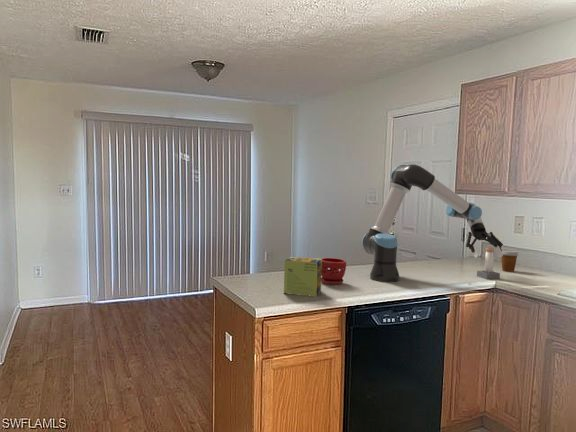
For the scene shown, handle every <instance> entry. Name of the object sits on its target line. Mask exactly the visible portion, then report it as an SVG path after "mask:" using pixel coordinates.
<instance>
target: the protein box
mask: <svg viewBox="0 0 576 432" xmlns="http://www.w3.org/2000/svg"><path fill="white" fill-rule="evenodd" d="M283 270H284V274H283V275H284V276H283V277H284V278H283V280H284V281H283V294H284V293H290V294H289V295H292V294H300V295H299V296H302V295H310V296H309V297H313V296H318V295H320V293H321V292H322V282H321V278H322V276H321V270H322V258H313V257H301V256H300V257H299V256H297V257H296V256H290V257H289V258H287V259H284V269H283Z"/></svg>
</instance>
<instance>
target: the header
mask: <svg viewBox="0 0 576 432" xmlns="http://www.w3.org/2000/svg"><path fill="white" fill-rule="evenodd" d="M484 270H485V269H483V270H477V271H476V277H479V278H481V279H483V280H500V277H501V273H500V272H497V271H493V273H486V272H484Z"/></svg>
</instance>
